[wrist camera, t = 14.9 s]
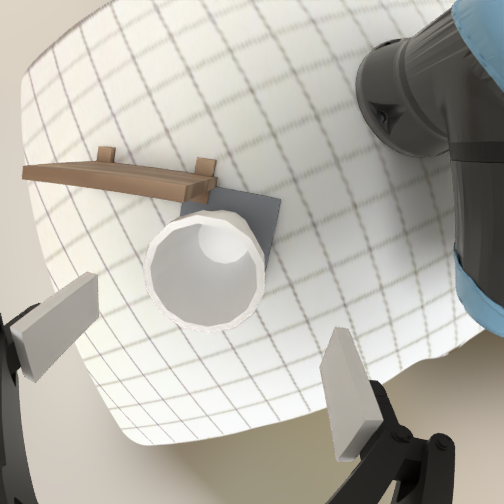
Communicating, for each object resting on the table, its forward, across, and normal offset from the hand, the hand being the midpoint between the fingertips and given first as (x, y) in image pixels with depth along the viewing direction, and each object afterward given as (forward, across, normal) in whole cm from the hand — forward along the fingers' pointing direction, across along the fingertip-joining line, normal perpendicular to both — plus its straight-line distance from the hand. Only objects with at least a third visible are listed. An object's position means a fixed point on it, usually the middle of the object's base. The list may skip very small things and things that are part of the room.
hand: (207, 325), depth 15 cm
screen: (+20, -12, +5) cm, 24 cm away
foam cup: (+20, -2, -1) cm, 20 cm away
